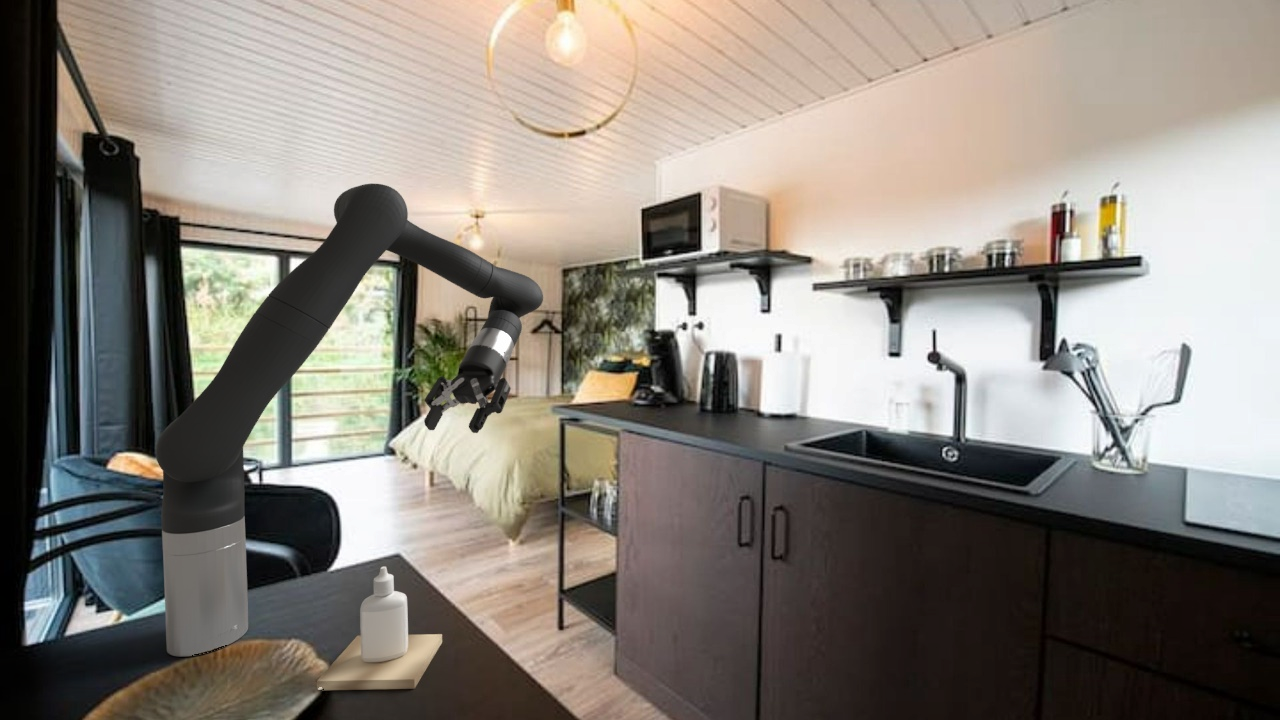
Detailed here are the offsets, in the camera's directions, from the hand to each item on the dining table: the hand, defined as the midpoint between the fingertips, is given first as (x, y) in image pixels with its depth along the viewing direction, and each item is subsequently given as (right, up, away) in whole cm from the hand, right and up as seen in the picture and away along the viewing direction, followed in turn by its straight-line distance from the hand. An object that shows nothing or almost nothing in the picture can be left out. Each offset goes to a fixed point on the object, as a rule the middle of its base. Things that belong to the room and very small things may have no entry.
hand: (450, 428), depth 88 cm
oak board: (-3, -29, -17) cm, 34 cm away
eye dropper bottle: (-3, -28, -17) cm, 33 cm away
